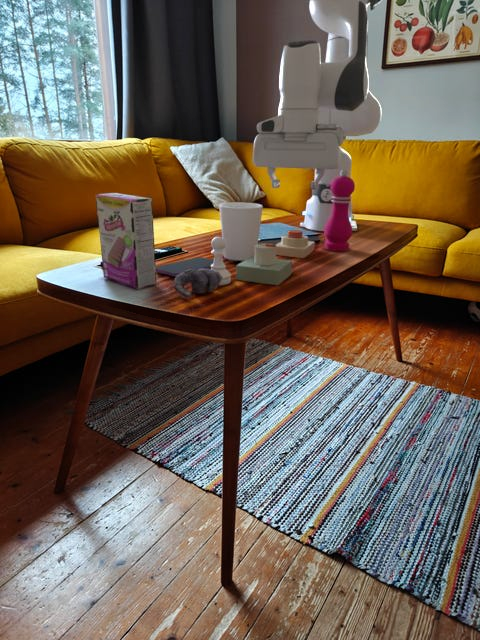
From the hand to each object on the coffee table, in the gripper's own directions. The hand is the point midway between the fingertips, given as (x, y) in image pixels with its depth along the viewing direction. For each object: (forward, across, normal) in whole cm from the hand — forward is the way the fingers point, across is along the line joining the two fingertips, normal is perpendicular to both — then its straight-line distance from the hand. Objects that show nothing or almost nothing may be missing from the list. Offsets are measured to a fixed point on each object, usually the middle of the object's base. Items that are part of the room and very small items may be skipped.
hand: (294, 188), depth 105 cm
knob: (+12, -1, +21) cm, 24 cm away
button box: (+16, 0, -3) cm, 16 cm away
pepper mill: (+17, -9, -12) cm, 22 cm away
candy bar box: (+15, +22, +36) cm, 45 cm away
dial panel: (+15, -1, +21) cm, 26 cm away
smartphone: (+15, +16, +23) cm, 32 cm away
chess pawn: (+15, +6, +29) cm, 33 cm away
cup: (+16, +9, +11) cm, 21 cm away
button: (+13, 0, -3) cm, 13 cm away
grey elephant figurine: (+15, +6, +37) cm, 40 cm away
